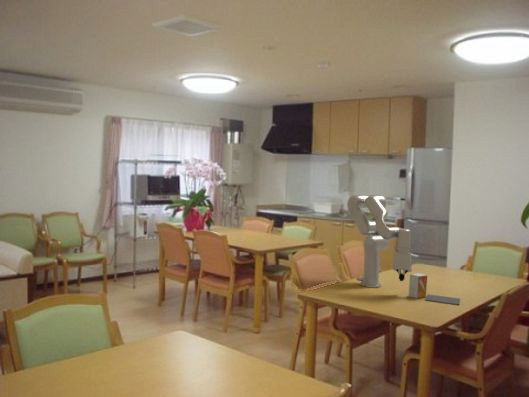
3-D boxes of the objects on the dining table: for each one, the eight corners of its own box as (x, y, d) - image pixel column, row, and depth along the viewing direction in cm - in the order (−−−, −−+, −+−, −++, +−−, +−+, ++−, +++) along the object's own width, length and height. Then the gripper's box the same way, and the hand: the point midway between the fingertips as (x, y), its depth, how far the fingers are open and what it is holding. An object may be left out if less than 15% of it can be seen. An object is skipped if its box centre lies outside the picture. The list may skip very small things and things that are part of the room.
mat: (424, 300, 278) (425, 299, 278) (427, 295, 291) (427, 294, 291) (459, 305, 271) (459, 304, 271) (460, 299, 284) (460, 298, 284)
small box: (417, 298, 282) (418, 276, 281) (408, 296, 287) (409, 274, 286) (426, 297, 286) (427, 275, 285) (417, 294, 291) (418, 272, 291)
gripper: (389, 249, 288) (387, 280, 289) (415, 252, 282) (413, 283, 283) (391, 247, 295) (389, 278, 296) (417, 250, 289) (415, 281, 290)
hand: (401, 280), depth 290 cm, fingers closed
